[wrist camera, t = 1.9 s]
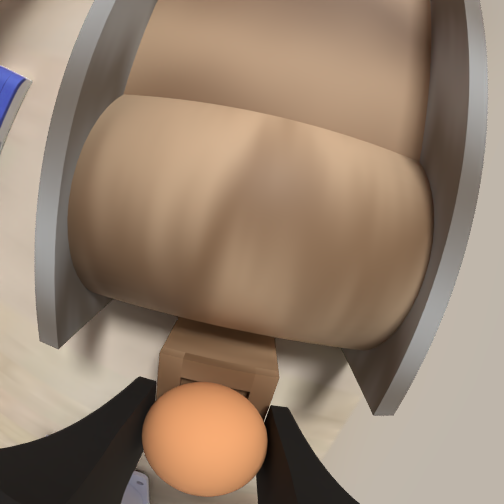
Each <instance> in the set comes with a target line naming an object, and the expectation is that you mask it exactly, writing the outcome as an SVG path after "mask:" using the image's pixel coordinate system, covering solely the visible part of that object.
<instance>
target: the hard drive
mask: <svg viewBox="0 0 504 504" xmlns="http://www.w3.org/2000/svg"><path fill="white" fill-rule="evenodd" d="M31 83H32V80H30V79H28V78H26V77H24V76H22V75H20V74H18V73H16V72H14V71H12V70H10V69H8V68H6V67H4V66H2V65H0V153H1V150H2V147H3V145H4V142H5V139H6V137H7V134H8V132H9V130H10V127H11V125H12V123H13V120H14V118H15V116H16V114H17V111H18V109H19V107H20V105H21V103H22V101H23V99H24V97H25V95H26V93H27V91H28V89H29V87H30V85H31Z"/></svg>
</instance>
